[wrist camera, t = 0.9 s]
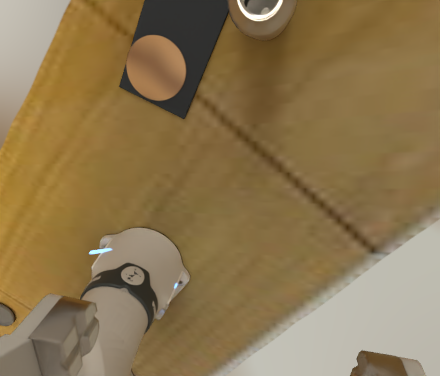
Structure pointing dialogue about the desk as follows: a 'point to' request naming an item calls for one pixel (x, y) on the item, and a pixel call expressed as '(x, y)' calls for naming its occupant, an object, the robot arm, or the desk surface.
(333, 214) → the desk surface
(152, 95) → the copper coaster
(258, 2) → the plastic bottle
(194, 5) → the desk mat
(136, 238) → the robot arm
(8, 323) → the pocket watch
